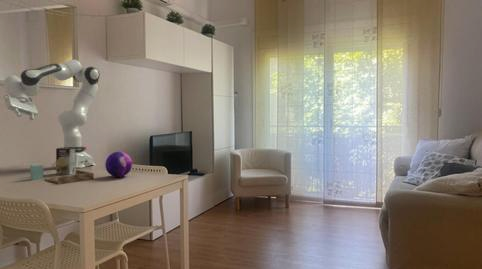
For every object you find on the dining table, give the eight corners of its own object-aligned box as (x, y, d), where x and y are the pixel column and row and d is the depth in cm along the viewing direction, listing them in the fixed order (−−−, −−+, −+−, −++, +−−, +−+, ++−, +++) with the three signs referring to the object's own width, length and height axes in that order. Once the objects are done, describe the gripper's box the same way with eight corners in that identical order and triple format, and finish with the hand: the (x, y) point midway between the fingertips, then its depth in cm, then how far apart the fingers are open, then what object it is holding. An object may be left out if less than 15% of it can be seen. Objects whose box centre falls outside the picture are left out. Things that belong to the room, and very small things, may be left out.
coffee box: (55, 174, 222) (55, 148, 221) (61, 172, 228) (61, 147, 227) (70, 174, 221) (69, 148, 220) (75, 173, 227) (75, 147, 226)
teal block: (40, 178, 210) (39, 164, 209) (43, 178, 207) (42, 165, 207) (30, 179, 206) (30, 165, 205) (33, 180, 203) (33, 166, 203)
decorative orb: (121, 173, 226) (121, 149, 225) (137, 176, 217) (137, 151, 216) (100, 177, 213) (99, 152, 213) (116, 180, 205) (115, 153, 204)
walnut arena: (78, 175, 218) (78, 169, 218) (93, 179, 208) (93, 173, 207) (44, 180, 203) (44, 174, 203) (59, 184, 192) (59, 177, 192)
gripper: (7, 91, 208) (15, 110, 204) (35, 101, 227) (42, 118, 223) (-1, 97, 208) (6, 116, 204) (27, 106, 228) (34, 124, 224)
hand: (25, 117), depth 214 cm, fingers open, 8 cm apart
